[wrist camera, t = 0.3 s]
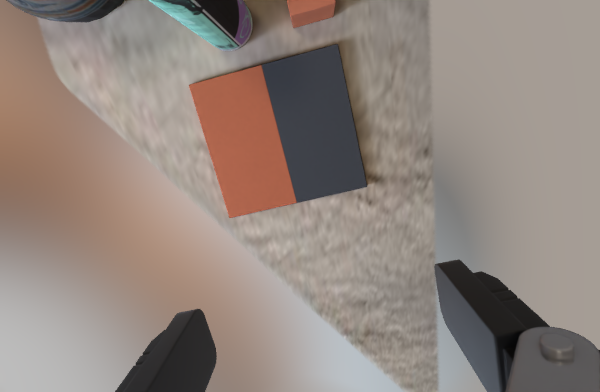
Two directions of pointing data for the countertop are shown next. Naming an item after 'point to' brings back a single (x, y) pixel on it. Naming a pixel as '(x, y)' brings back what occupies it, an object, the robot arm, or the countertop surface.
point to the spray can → (213, 20)
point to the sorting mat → (281, 132)
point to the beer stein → (67, 9)
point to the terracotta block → (310, 11)
